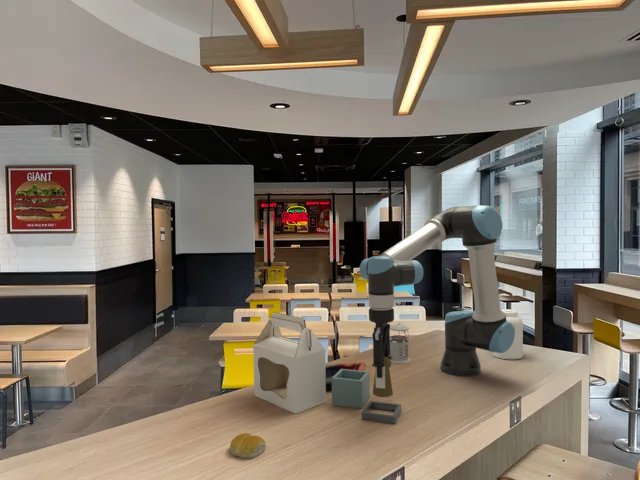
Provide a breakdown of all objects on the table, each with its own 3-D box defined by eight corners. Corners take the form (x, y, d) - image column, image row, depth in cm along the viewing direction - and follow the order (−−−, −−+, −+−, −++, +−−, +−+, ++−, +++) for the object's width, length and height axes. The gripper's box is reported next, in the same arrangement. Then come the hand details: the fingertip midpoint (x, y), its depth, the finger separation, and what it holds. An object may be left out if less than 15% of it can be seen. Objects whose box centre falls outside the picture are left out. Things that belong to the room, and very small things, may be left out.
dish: (287, 385, 165) (286, 371, 164) (353, 369, 182) (353, 357, 182) (310, 398, 152) (310, 383, 152) (379, 380, 169) (379, 366, 169)
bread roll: (244, 440, 122) (244, 425, 122) (270, 449, 118) (270, 433, 117) (222, 453, 115) (222, 438, 115) (249, 463, 111) (248, 447, 110)
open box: (369, 396, 152) (369, 371, 152) (362, 408, 143) (361, 381, 142) (341, 393, 155) (341, 368, 155) (331, 404, 146) (331, 378, 146)
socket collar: (401, 410, 140) (401, 404, 140) (395, 424, 131) (395, 417, 131) (369, 406, 144) (369, 400, 144) (361, 419, 134) (361, 412, 134)
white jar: (519, 352, 202) (519, 308, 201) (525, 361, 190) (525, 313, 189) (489, 351, 205) (489, 307, 204) (493, 359, 193) (493, 312, 192)
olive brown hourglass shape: (392, 397, 134) (391, 360, 133) (371, 396, 135) (371, 360, 135) (393, 390, 140) (392, 354, 139) (373, 389, 141) (373, 354, 140)
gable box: (253, 395, 155) (252, 313, 154) (283, 385, 164) (282, 308, 163) (296, 414, 139) (294, 323, 138) (326, 402, 148) (325, 317, 147)
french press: (383, 360, 193) (382, 301, 192) (397, 354, 202) (397, 298, 201) (403, 364, 187) (403, 304, 186) (417, 358, 196) (416, 300, 195)
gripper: (375, 302, 146) (377, 373, 147) (361, 313, 129) (362, 393, 130) (399, 303, 144) (400, 375, 144) (387, 314, 127) (388, 396, 127)
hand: (382, 384), depth 137 cm, fingers closed on olive brown hourglass shape, 5 cm apart
